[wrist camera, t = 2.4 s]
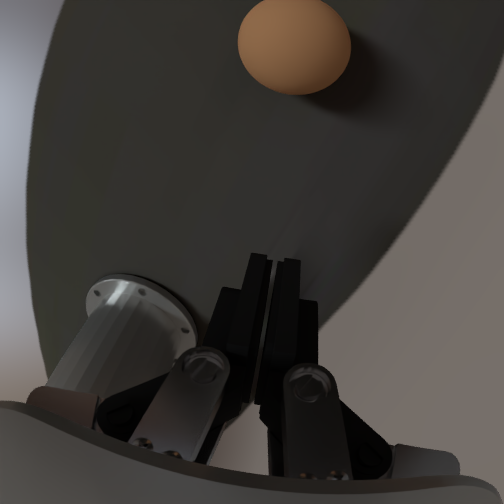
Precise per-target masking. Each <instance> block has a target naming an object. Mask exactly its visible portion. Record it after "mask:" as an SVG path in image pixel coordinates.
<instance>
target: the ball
mask: <svg viewBox="0 0 504 504" xmlns="http://www.w3.org/2000/svg"><path fill="white" fill-rule="evenodd" d="M238 49H239V54H240V57H241V60H242V62H243V64H244V66H245V68H246V69H247V71H248V72H249V73H250V74H251V75H252V76H253V77H254V78H255V79H256V80H257V81H258V82H260V83H261V84H262V85H264V86H266V87H267V88H270V89H272V90H274V91H277V92H280V93H284V94H291V95H304V94H310V93H314V92H317V91H320V90H322V89H324V88H326V87H328V86H329V85H331V84H332V83H333V82H335V81H336V80H337V79H338V78H339V77H340V76H341V74H342V73H343V72H344V70H345V68H346V66H347V64H348V61H349V59H350V53H351V41H350V36H349V32H348V29H347V27H346V25H345V23H344V21H343V20H342V18H341V17H340V16H339V14H338V13H337V12H336V11H335V10H334V9H333V8H331V7H330V6H329V5H327V4H326V3H324V2H322V1H321V0H264V1H262V2H260V3H259V4H257V5H256V6H255V7H254V8H253V9H252V10H251V11H250V12H249V13H248V14H247V16H246V17H245V18H244V20H243V22H242V24H241V27H240V30H239V35H238Z"/></svg>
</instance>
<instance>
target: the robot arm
mask: <svg viewBox="0 0 504 504" xmlns="http://www.w3.org/2000/svg"><path fill="white" fill-rule="evenodd" d="M272 262H273V260H268V259H267V255H263V254H257V253H251V255H250V259H249V263H248V266H247V270H246V274H245V277H244V281H243V285H242V288H241V290H240V289H234V288H228V287H222V289H221V292H220V295H219V297H218V300H217V303H216V306H215V309H214V312H213V315H212V318H211V321H210V323H209V326H208V329H207V332H206V335H205V338H204V341H203V344H202V346H197V347H196V345H197V339H198V333H197V329H196V325H195V323H194V321H193V318H192V317H191V315H190V314H189V312H188V311H187V309H186V308H185V307H184V306H183V305H182V304H181V303H180V302H179V301H178V300H177V299H176V298H175V297H174V296H173V295H171V294H170V293H169V292H168V291H166V290H165V289H163V288H161V287H160V286H158V285H156V284H154V283H152V282H150V281H148V280H146V279H143V278H140V277H136V276H133V275H125V274H113V275H109V276H105V277H103V278H101V279H100V280H98V281H97V282H96V283H95V284H94V285H93V286H92V288H91V289H90V291H89V292H88V294H87V298H86V310H87V314H88V317H89V318H88V319H87V321H86V322H85V324H84V325H83V327H82V328H81V330H80V331H79V333H78V334H77V336H76V337H75V339H74V340H73V342H72V343H71V345H70V346H69V348H68V349H67V351H66V353H65V354H64V356H63V357H62V359H61V360H60V362H59V364H58V365H57V367H56V368H55V370H54V372H53V373H52V375H51V377H50V378H49V380H48V382H47V383H46V385H45V386H41V387H38V388H35V389H34V390H33V391H32V392H31V393H30V395H29V397H28V398H27V402H26V403H21V402H15V401H0V504H503V503H502V499H501V497H500V494H499V492H498V491H497V489H496V488H495V487H494V486H493V485H491V484H489V483H488V482H485V481H483V480H481V479H478V478H474V477H469V476H464V475H460V464H459V462H458V460H457V458H456V457H455V456H454V455H453V454H452V453H449V452H446V451H439V450H432V449H425V448H420V447H414V446H408V445H403V444H397V445H395V446H393V445H389V444H388V443H387V442H386V441H385V440H384V439H383V438H382V437H381V436H380V435H379V434H377V433H376V432H375V431H374V430H373V429H372V428H371V427H370V426H369V425H367V424H366V423H365V422H364V421H363V420H362V419H360V417H359V416H357V415H356V414H355V413H354V412H353V411H352V410H351V409H350V408H349V407H348V406H346V405H345V404H344V403H343V402H342V401H341V400H340V399H339V395H338V389H337V384H336V381H335V379H334V377H333V375H332V374H331V373H330V372H329V371H328V370H327V369H326V368H324V367H323V366H320V365H318V303H317V301H311V300H304V299H299V292H300V266H301V261H300V260H296V259H289V258H285V259H284V262H281V261H278V263H277V269H276V275H275V281H274V287H273V293H272V299H271V305H270V311H269V316H268V322H267V329H266V335H265V341H264V347H263V354H262V360H261V366H260V372H259V378H258V384H257V389H256V395H255V401H254V404H257V405H260V411H259V414H260V417H259V418H260V420H261V421H262V422H263V423H264V424H265V425H266V426H267V427H268V431H267V433H268V468H269V476H268V475H260V474H252V473H246V472H240V471H234V470H228V469H223V468H218V467H213V466H209V464H210V461H211V459H212V457H213V454H214V452H215V450H216V447H217V445H218V443H219V441H220V438H221V436H222V434H223V431H224V429H225V426H226V423H227V421H229V420H230V419H232V418H234V417H236V416H238V415H239V411H240V410H241V405H242V402H244V403H249V398H250V393H251V388H252V382H253V377H254V371H255V365H256V360H257V354H258V349H259V343H260V337H261V331H262V326H263V320H264V313H265V307H266V301H267V295H268V288H269V282H270V275H271V269H272ZM172 367H173V368H172ZM171 368H172V369H171Z"/></svg>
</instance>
